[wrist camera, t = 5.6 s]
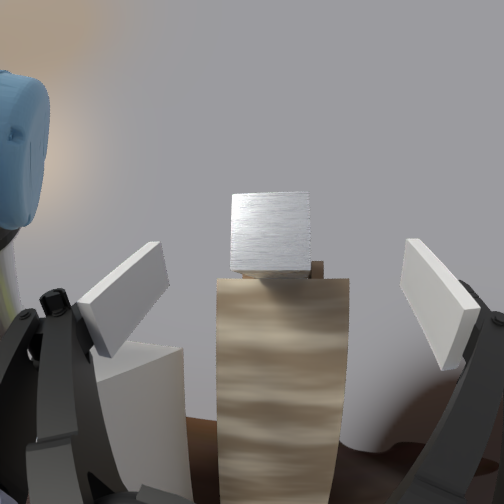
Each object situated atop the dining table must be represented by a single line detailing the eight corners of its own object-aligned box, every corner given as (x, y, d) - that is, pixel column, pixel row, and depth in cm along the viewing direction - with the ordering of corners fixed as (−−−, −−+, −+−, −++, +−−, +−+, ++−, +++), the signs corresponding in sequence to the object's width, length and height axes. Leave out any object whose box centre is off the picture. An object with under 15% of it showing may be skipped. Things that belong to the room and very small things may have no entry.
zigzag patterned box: (319, 538, 19) (348, 260, 23) (222, 532, 20) (217, 260, 25) (317, 471, 34) (330, 273, 38) (247, 468, 36) (250, 273, 40)
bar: (311, 270, 14) (309, 191, 14) (229, 270, 15) (231, 194, 15) (305, 284, 41) (304, 257, 42) (277, 284, 42) (277, 257, 42)
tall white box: (141, 587, 9) (74, 390, 12) (60, 545, 11) (-7, 352, 14) (194, 508, 25) (183, 347, 28) (127, 488, 26) (106, 336, 29)
